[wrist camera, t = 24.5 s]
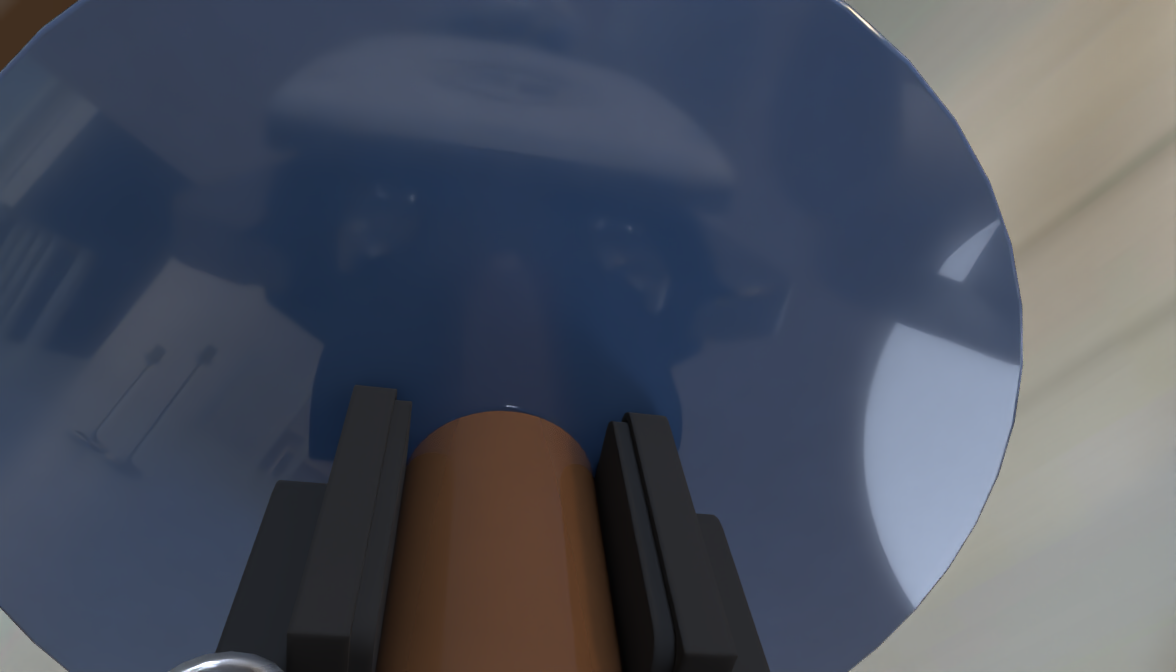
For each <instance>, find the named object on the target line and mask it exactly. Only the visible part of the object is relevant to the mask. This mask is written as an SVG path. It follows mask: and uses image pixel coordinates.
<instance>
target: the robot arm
mask: <svg viewBox="0 0 1176 672" xmlns="http://www.w3.org/2000/svg"><path fill="white" fill-rule="evenodd" d="M411 411H412V401H402V400H397V389H392V388H382V387H373V386H363V385H355V386H354V388H353V391H352V395H351V399H350V402H349V406H348V410H347V413H346V417H345V421H344V425H343V428H342V432H341V436H340V439H339V443H338V447H337V450H336V454H335V458H334V461H333V465H332V469H331V472H330V476H329V480H328V483H327V484H324V483H312V482H299V481H287V480H279V481H278V482H277V483H276V484H275V487H274V489H273V491H272V494H271V497H270V499H269V502H268V505H267V508H266V511H265V514H264V516H263V519H262V522H261V525H260V528H259V530H258V533H257V536H256V539H255V542H254V544H253V547H252V550H251V553H250V556H249V559H248V561H247V564H246V567H245V570H244V573H243V575H242V578H241V581H240V584H239V587H238V590H237V592H236V595H235V598H234V601H233V604H232V606H231V609H230V612H229V615H228V618H227V620H226V623H225V626H224V629H223V632H222V635H221V637H220V640H219V643H218V646H217V649H216V651H215V653H213V654H206V655H203V656H200V657H197V658H195V659H192V660H189V661H186V662H184V663H181V664H180V665H178V666H176V667H175V668H173V669H172V670H170V671H169V672H375V668H376V662H377V655H378V648H379V642H380V635H381V629H382V622H383V615H384V609H385V602H386V596H387V589H388V582H389V576H390V569H391V563H392V556H393V549H394V543H395V536H396V530H397V523H398V516H399V510H400V503H401V497H402V490H403V483H404V477H405V470H406V462H407V451H408V441H409V431H410V421H411ZM594 482H595V489H596V495H597V502H598V508H599V515H600V521H601V528H602V535H603V541H604V548H605V554H606V561H607V567H608V574H609V581H610V587H611V594H612V600H613V607H614V613H615V620H616V627H617V633H618V640H619V646H620V653H621V659H622V666H623V672H770V669H769V666H768V663H767V660H766V657H765V654H764V651H763V648H762V645H761V642H760V639H759V636H758V633H757V630H756V627H755V624H754V621H753V618H752V615H751V612H750V609H749V606H748V603H747V600H746V597H745V594H744V590H743V587H742V584H741V581H740V578H739V575H738V572H737V569H736V566H735V563H734V560H733V557H732V554H731V551H730V548H729V545H728V542H727V539H726V536H725V533H724V530H723V527H722V525H721V523H720V521H719V519H718V518H717V517H716V516H715V515H710V514H698V513H696V512H695V509H694V505H693V502H692V499H691V495H690V492H689V489H688V485H687V482H686V478H685V475H684V472H683V468H682V465H681V462H680V458H679V455H678V451H677V448H676V445H675V441H674V438H673V435H672V431H671V428H670V425H669V421H668V419H667V417H665V416H661V415H651V414H642V413H632V412H626V413H625V414H624V416H623V418H622V421H621V422H617V421H610V422H609V424H608V426H607V430H606V434H605V438H604V442H603V446H602V451H601V455H600V459H599V463H598V467H597V471H596V476H595V480H594Z"/></svg>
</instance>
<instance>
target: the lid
mask: <svg viewBox="0 0 1176 672" xmlns="http://www.w3.org/2000/svg"><path fill="white" fill-rule="evenodd" d="M1022 368H1023V322H1022V302H1021V296H1020V290H1019V284H1018V278H1017V272H1016V267H1015V261H1014V255H1013V249H1012V244H1011V241H1010V238H1009V235H1008V232H1007V229H1006V226H1005V223H1004V220H1003V218H1002V215H1001V212H1000V209H999V206H998V203H997V200H996V197H995V195H994V192H993V189H992V186H991V183H990V180H989V179H988V177H987V175H986V173H985V171H984V170H983V168H982V166H981V164H980V162H979V160H978V159H977V157H976V155H975V153H974V151H973V149H972V148H971V146H970V144H969V142H968V140H967V139H966V137H965V135H964V133H963V131H962V129H961V128H960V126H959V124H958V122H957V120H956V119H955V117H954V116H953V115H952V114H951V112H950V111H949V110H948V109H947V107H946V106H945V105H944V103H943V102H942V101H941V100H940V98H939V97H938V96H937V95H936V93H935V92H934V91H933V89H932V88H931V87H930V86H929V84H928V83H927V82H926V81H925V79H924V78H923V77H922V75H921V74H920V73H919V72H918V70H917V69H916V68H915V67H914V65H913V64H912V63H911V61H910V60H909V59H908V58H907V57H906V56H904V55H903V54H902V53H901V52H900V51H899V50H898V49H897V48H896V47H895V46H894V45H892V44H891V43H890V42H889V41H888V40H887V39H886V38H885V37H884V36H883V35H882V34H880V33H879V32H878V31H877V30H876V29H875V28H874V27H873V26H872V25H871V24H870V23H868V22H867V21H866V20H865V19H864V18H863V17H862V16H861V15H860V14H859V13H858V12H856V11H855V10H854V9H853V8H852V7H851V6H850V5H849V4H847V3H846V2H844V1H843V0H78V1H77V2H75V3H74V4H73V5H71V6H70V7H69V8H67V9H66V10H65V11H63V12H62V13H61V14H59V15H58V16H57V17H55V18H54V19H53V20H51V21H50V22H49V23H47V24H46V25H45V26H43V27H42V28H41V29H40V30H39V31H38V32H37V33H36V34H35V35H34V36H33V37H32V39H31V40H30V41H29V42H28V43H27V44H26V45H25V46H24V47H23V48H22V49H21V50H20V51H19V53H17V54H16V56H15V57H14V58H13V59H12V60H11V61H10V62H9V63H8V64H7V65H6V66H5V67H4V68H3V69H2V71H1V72H0V608H1V609H2V610H3V611H4V612H5V613H6V614H7V615H8V616H9V617H10V619H11V620H12V621H13V622H14V623H15V624H16V625H17V626H18V627H19V628H20V629H21V630H22V631H23V632H24V633H25V634H26V635H27V636H28V637H29V638H30V640H31V641H32V642H33V643H34V644H36V645H37V646H38V647H39V648H41V649H42V650H43V651H44V652H45V653H47V654H48V655H49V656H50V657H51V658H53V659H54V660H55V661H56V662H57V663H59V664H60V665H61V666H62V667H63V668H65V669H66V670H67V671H68V672H169V671H170V670H172V669H173V668H175V667H176V666H178V665H180V664H181V663H184V662H186V661H189V660H192V659H195V658H197V657H200V656H203V655H206V654H213V653H215V651H216V649H217V646H218V643H219V640H220V637H221V635H222V632H223V629H224V626H225V623H226V620H227V618H228V615H229V612H230V609H231V606H232V604H233V601H234V598H235V595H236V592H237V590H238V587H239V584H240V581H241V578H242V575H243V573H244V570H245V567H246V564H247V561H248V559H249V556H250V553H251V550H252V547H253V544H254V542H255V539H256V536H257V533H258V530H259V528H260V525H261V522H262V519H263V516H264V514H265V511H266V508H267V505H268V502H269V499H270V497H271V494H272V491H273V489H274V487H275V484H276V483H277V482H278V481H279V480H287V481H299V482H312V483H324V484H327V483H328V480H329V476H330V472H331V469H332V465H333V461H334V458H335V454H336V450H337V447H338V443H339V439H340V436H341V432H342V428H343V425H344V421H345V417H346V413H347V410H348V406H349V402H350V399H351V395H352V391H353V388H354V386H355V385H363V386H373V387H382V388H392V389H397V400H402V401H412V411H411V421H410V431H409V441H408V451H407V462H406V470H405V477H404V483H403V490H402V497H401V503H400V510H399V516H398V523H397V530H396V536H395V543H394V549H393V556H392V563H391V569H390V576H389V582H388V589H387V596H386V602H385V609H384V615H383V622H382V629H381V635H380V642H379V648H378V655H377V662H376V668H375V672H623V666H622V659H621V653H620V646H619V640H618V633H617V627H616V620H615V613H614V607H613V600H612V594H611V587H610V581H609V574H608V567H607V561H606V554H605V548H604V541H603V535H602V528H601V521H600V515H599V508H598V502H597V495H596V489H595V482H594V480H595V476H596V471H597V467H598V463H599V459H600V455H601V451H602V446H603V442H604V438H605V434H606V430H607V426H608V424H609V422H610V421H617V422H621V421H622V418H623V416H624V414H625V413H626V412H632V413H642V414H651V415H661V416H665V417H667V419H668V421H669V425H670V428H671V431H672V435H673V438H674V441H675V445H676V448H677V451H678V455H679V458H680V462H681V465H682V468H683V472H684V475H685V478H686V482H687V485H688V489H689V492H690V495H691V499H692V502H693V505H694V509H695V512H696V513H698V514H710V515H715V516H716V517H717V518H718V519H719V521H720V523H721V525H722V527H723V530H724V533H725V536H726V539H727V542H728V545H729V548H730V551H731V554H732V557H733V560H734V563H735V566H736V569H737V572H738V575H739V578H740V581H741V584H742V587H743V590H744V594H745V597H746V600H747V603H748V606H749V609H750V612H751V615H752V618H753V621H754V624H755V627H756V630H757V633H758V636H759V639H760V642H761V645H762V648H763V651H764V654H765V657H766V660H767V663H768V666H769V669H770V672H849V671H850V670H851V669H853V668H854V667H855V666H856V665H857V664H859V663H860V662H861V661H862V660H864V659H865V658H866V657H867V656H868V655H870V654H871V653H872V652H873V651H875V650H876V649H877V648H878V647H879V646H880V645H881V644H882V643H883V642H884V641H885V640H886V639H887V638H888V637H889V636H890V635H891V634H892V633H893V632H894V631H895V630H896V629H897V628H898V627H899V626H900V625H901V624H902V623H903V622H904V621H905V620H906V619H907V618H908V617H909V616H910V615H911V614H912V613H913V612H914V611H915V610H916V609H917V608H918V606H919V605H920V604H921V603H922V601H923V600H924V599H925V598H926V596H927V595H928V594H929V593H930V591H931V590H932V589H933V588H934V586H935V585H936V584H937V583H938V581H939V580H940V579H941V578H942V576H943V575H944V574H945V573H946V571H947V570H948V569H949V567H950V565H951V564H952V562H953V561H954V559H955V557H956V556H957V554H958V553H959V551H960V549H961V548H962V546H963V545H964V543H965V541H966V540H967V538H968V537H969V535H970V533H971V532H972V530H973V528H974V527H975V525H976V523H977V521H978V519H979V517H980V515H981V513H982V510H983V508H984V506H985V504H986V502H987V499H988V497H989V495H990V493H991V491H992V489H993V486H994V484H995V482H996V480H997V478H998V475H999V472H1000V469H1001V466H1002V462H1003V459H1004V456H1005V452H1006V449H1007V446H1008V442H1009V439H1010V436H1011V432H1012V429H1013V426H1014V422H1015V416H1016V409H1017V402H1018V396H1019V389H1020V382H1021V375H1022Z"/></svg>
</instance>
